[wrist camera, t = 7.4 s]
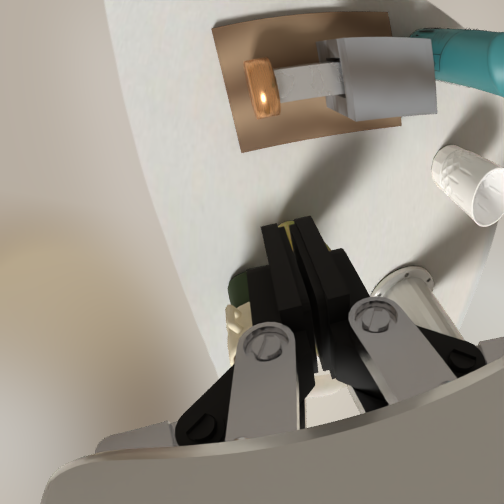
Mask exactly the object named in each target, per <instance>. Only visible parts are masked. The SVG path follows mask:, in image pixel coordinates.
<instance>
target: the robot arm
mask: <svg viewBox="0 0 504 504" xmlns="http://www.w3.org/2000/svg"><path fill="white" fill-rule="evenodd" d="M261 230H262V234H263V239H264V244H265V248H266V253H267V257H268V262H269V265H265V266H261V267H256V268H252V269H247V270H246V274H247V283H248V291H249V300H250V309H251V318H252V327H250V328H249V329H248V330H246V331H245V332H244V333H243V334H242V336H241V337H240V338H239V341H238V344H237V350H236V358H235V363H234V364H233V365H232V367H231V368H230V369H229V370H228V371H227V372H226V373H225V374H224V375H223V376H222V377H221V378H220V379H219V380H218V381H217V382H216V383H215V384H214V385H213V386H212V387H211V388H210V389H209V390H207V392H206V393H204V395H202V396H201V397H200V398H199V399H198V400H197V401H196V402H195V403H194V404H193V405H192V406H191V407H190V408H189V409H188V410H187V411H186V412H185V413H184V414H183V415H182V416H181V417H180V419H179V420H178V421H176V422H173V423H169V421H164V422H161V423H158V424H154V425H150V426H146V427H143V428H139V429H135V430H131V431H127V432H123V433H119V434H114V435H110V436H108V437H106V438H104V439H103V440H102V441H101V442H100V443H99V444H98V446H97V448H96V450H95V454H91V455H88V456H84V457H81V458H79V459H76V460H74V461H71V462H69V463H67V464H65V465H63V466H62V467H60V468H59V469H58V470H57V471H55V472H54V473H53V475H52V476H51V478H50V479H49V481H48V483H47V485H46V488H45V490H44V493H43V497H42V500H41V504H504V337H500V338H496V339H490V340H486V341H480V342H479V344H478V346H475V345H473V344H471V343H469V342H467V341H465V340H464V339H463V337H462V335H461V334H460V332H459V331H458V329H457V328H456V326H455V325H454V323H453V322H452V320H451V319H450V317H449V316H448V314H447V313H446V311H445V310H444V308H443V307H442V306H441V304H440V303H439V301H438V300H437V298H436V297H435V296H434V294H433V293H432V291H433V286H434V283H433V278H432V276H431V275H430V273H429V272H428V271H427V270H426V269H424V268H422V267H418V266H409V267H405V268H402V269H399V270H397V271H395V272H393V273H391V274H390V275H388V276H387V277H386V278H384V279H383V280H382V281H381V282H380V283H379V284H378V286H377V287H376V288H375V289H374V291H373V293H372V294H371V296H369V294H368V292H367V290H366V288H365V287H364V285H363V283H362V281H361V279H360V277H359V276H358V274H357V272H356V270H355V268H354V267H353V265H352V263H351V261H350V260H349V258H348V256H347V254H346V253H345V251H344V250H343V249H342V248H340V249H336V250H331V251H329V250H328V248H327V246H326V244H325V242H324V240H323V239H322V237H321V235H320V233H319V231H318V229H317V227H316V225H315V223H314V221H313V219H312V218H311V216H307V217H303V218H298V219H294V224H291V225H289V230H290V235H291V241H292V247H293V250H292V247H291V244H290V241H289V238H288V236H287V233H286V230H285V227H284V226H282V227H278V225H277V223H275V224H271V225H266V226H262V227H261ZM315 344H316V346H315ZM316 348H317V351H318V355H319V358H320V362H321V365H322V369H323V371H326V370H330V373H331V377H332V379H334V378H336V379H337V380H338V381H340V382H343V383H345V384H347V387H348V390H349V392H350V394H351V396H352V398H353V400H354V402H355V404H356V406H357V408H358V409H359V411H360V413H361V414H360V415H357V416H353V417H350V418H346V419H342V420H338V421H335V422H331V423H327V424H323V425H319V426H314V427H310V428H307V418H306V399H305V398H306V397H307V395H308V394H309V393H310V391H311V390H312V389H313V387H314V386H315V379H314V373H318V367H317V366H318V365H317V355H316Z"/></svg>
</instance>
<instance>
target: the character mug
mask: <svg viewBox="0 0 504 504" xmlns="http://www.w3.org/2000/svg"><path fill="white" fill-rule="evenodd" d="M228 294H229V299H230V302H231V305H227V307H226V309H225V311H226V323H227V326H226V328H227V331H228V350H229V359H230V365H231V366H232V365H233V364H234V363H235V358H236V350H237V344H238V341H239V338H240V337H241V336H242V334H243V333H244V332H245V331H246V330H248V329H249V328H250V327H252V318H251V309H250V300H249V291H248V283H247V274H246V272H244V273H242V274H239V275H237V276H235V277H234V278H233V279H232V280H231V281H230V282H229V286H228Z"/></svg>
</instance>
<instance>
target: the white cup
mask: <svg viewBox="0 0 504 504" xmlns="http://www.w3.org/2000/svg"><path fill="white" fill-rule="evenodd" d="M431 172H432V179H433V181H434V182H435V184H436V185H437V186H438V187H439V188H440V189H441V190H442V191H443V192H445V194H446V195H447V196H448V197H449V198H450V199H452V200H453V202H454V203H455V204H457V205H458V206H459V207H460V208H461V209H462V210H463V211H464V212H465V213H466V214H467V215H468V216H469V217H470V218H471V219H472V220H473V221H474V222H475V223H476V224H478V225H479V226H483V227H486V226H490V225H492V224H494V223H496V222H497V221H498V220H499V219H500V218H501V217H502V216H503V215H504V168H503V167H501V166H499V165H497V164H496V163H494V162H492V161H490V160H488V159H486V158H484V157H482V156H480V155H478V154H475V153H473V152H471V151H468V150H465V149H463V148H461V147H458V146H456V145H447V146H445V147H444V148H442V149H441V150H439V151H438V153H437V155H436V156H435V158H434V159H433V164H432V168H431Z"/></svg>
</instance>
